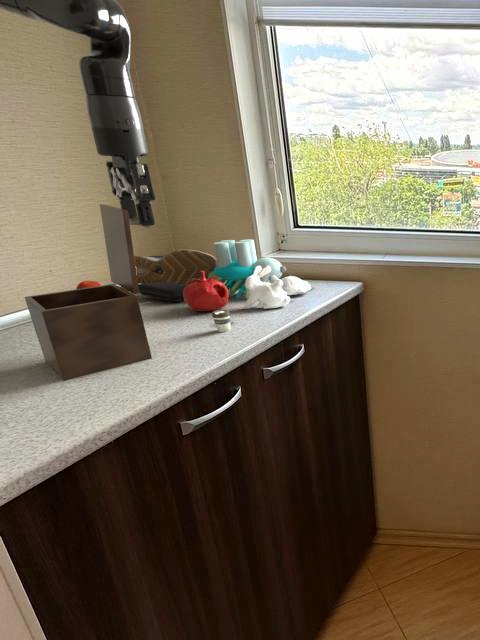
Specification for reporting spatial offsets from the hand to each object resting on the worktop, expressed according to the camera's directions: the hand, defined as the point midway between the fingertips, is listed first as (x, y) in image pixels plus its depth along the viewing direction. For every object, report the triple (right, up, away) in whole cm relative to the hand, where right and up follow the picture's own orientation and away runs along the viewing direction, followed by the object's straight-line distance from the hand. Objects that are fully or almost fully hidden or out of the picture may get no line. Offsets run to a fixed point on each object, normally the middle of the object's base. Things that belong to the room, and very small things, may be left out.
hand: (139, 223), depth 94 cm
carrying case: (-26, -5, +45) cm, 52 cm away
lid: (-3, -5, -2) cm, 6 cm away
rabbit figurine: (+9, -12, +35) cm, 38 cm away
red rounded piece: (-30, -6, +27) cm, 41 cm away
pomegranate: (-4, -13, +32) cm, 35 cm away
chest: (-8, -26, +1) cm, 27 cm away
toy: (0, +6, +40) cm, 40 cm away
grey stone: (+12, -8, +45) cm, 47 cm away
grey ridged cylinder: (+7, -20, +17) cm, 27 cm away
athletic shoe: (-26, -1, +49) cm, 55 cm away
